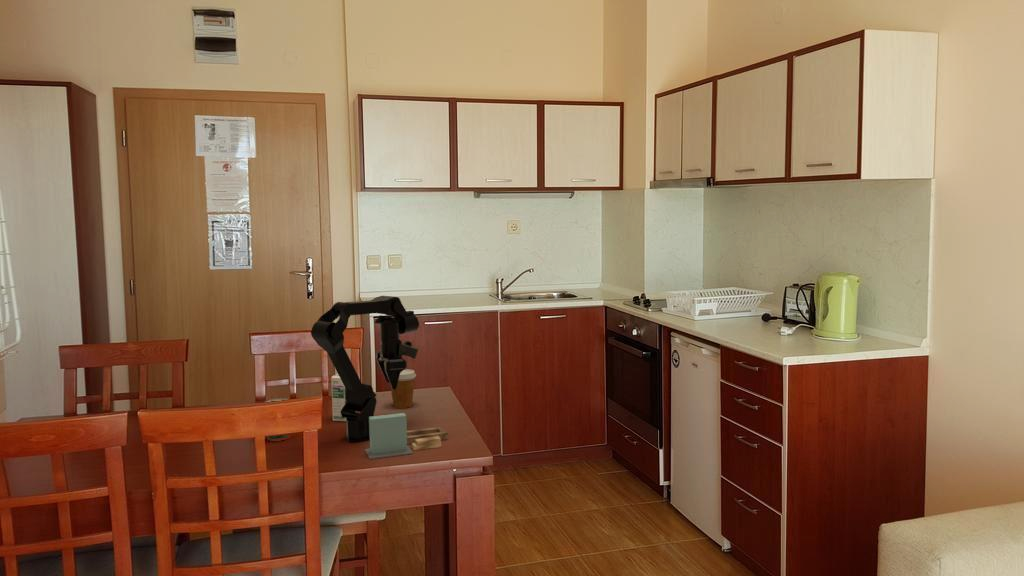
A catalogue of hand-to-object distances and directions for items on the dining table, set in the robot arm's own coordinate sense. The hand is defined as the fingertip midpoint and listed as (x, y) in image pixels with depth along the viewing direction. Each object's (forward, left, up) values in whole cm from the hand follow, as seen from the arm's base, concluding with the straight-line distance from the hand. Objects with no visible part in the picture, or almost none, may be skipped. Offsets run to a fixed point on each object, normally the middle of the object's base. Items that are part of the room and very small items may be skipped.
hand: (391, 385), depth 240 cm
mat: (-6, -24, -13) cm, 28 cm away
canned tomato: (-34, +2, -13) cm, 37 cm away
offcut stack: (+5, -24, -13) cm, 27 cm away
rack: (+5, -16, -13) cm, 21 cm away
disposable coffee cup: (+8, +22, -13) cm, 27 cm away
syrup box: (-13, +14, -13) cm, 23 cm away
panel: (-6, -24, -13) cm, 28 cm away
